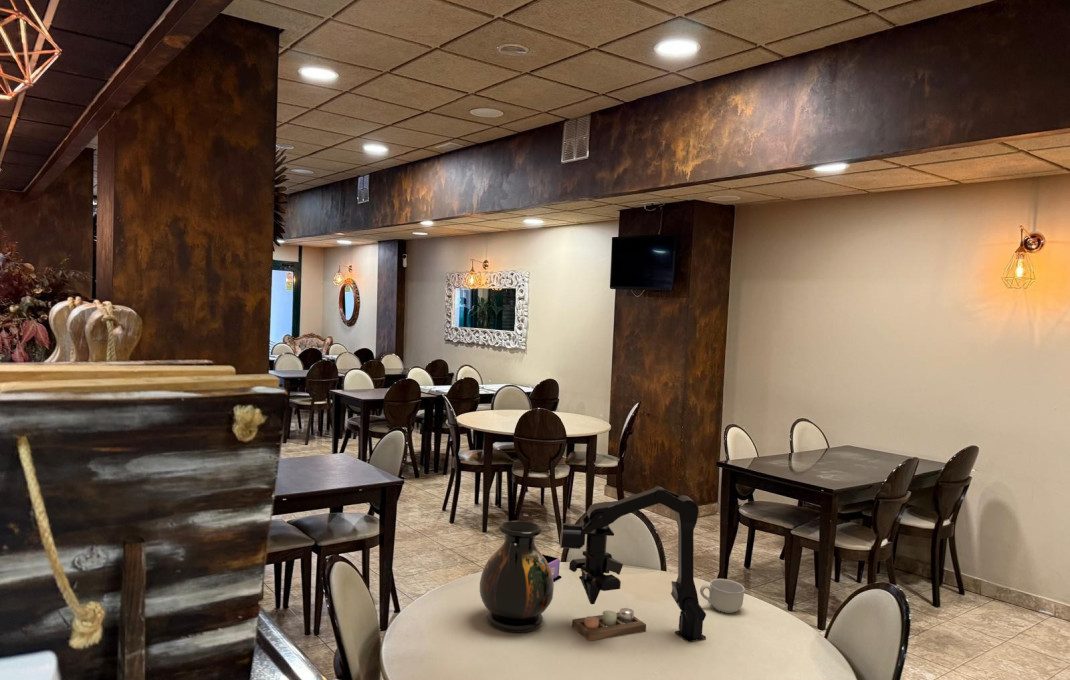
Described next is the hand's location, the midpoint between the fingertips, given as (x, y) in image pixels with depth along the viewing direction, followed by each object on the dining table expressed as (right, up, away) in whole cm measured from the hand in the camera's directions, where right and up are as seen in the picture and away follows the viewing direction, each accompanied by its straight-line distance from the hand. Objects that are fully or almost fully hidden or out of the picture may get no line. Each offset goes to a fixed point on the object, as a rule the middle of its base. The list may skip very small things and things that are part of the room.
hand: (592, 603), depth 201 cm
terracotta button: (0, -7, 0) cm, 7 cm away
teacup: (+43, -11, +23) cm, 50 cm away
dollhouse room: (-15, -7, +41) cm, 44 cm away
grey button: (+10, -7, +6) cm, 14 cm away
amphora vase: (-22, -7, +3) cm, 23 cm away
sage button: (+5, -7, +3) cm, 9 cm away
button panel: (+5, -8, +3) cm, 10 cm away
